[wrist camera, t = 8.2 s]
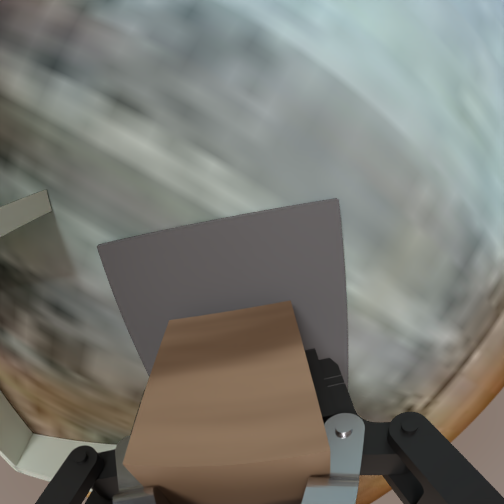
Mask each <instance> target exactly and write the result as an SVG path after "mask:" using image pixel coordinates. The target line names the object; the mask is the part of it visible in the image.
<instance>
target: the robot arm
mask: <svg viewBox="0 0 504 504" xmlns="http://www.w3.org/2000/svg"><path fill="white" fill-rule="evenodd" d="M305 354H306V358H307V362H308V365H309V369H310V373H311V377H312V380H313V384H314V388H315V392H316V396H317V399H318V403H319V407H320V411H321V415H322V419H323V423H324V427H325V431H326V434H327V438H328V442H329V446H330V474H327V475H320V476H311V477H309V479H308V482H307V485H306V489H305V493H304V496H303V500H302V503H301V504H355V503H356V497H357V491H358V484H359V475H382V476H383V477H384V478H385V480H386V481H387V482H388V484H389V485H390V486H391V488H392V489H393V490H394V492H395V493H396V494H397V496H398V497H399V498H400V500H401V501H402V502H403V503H404V504H504V498H503V497H502V496H501V495H500V494H499V493H498V491H496V490H495V488H494V487H493V486H492V485H491V484H490V483H489V482H488V481H487V480H486V479H485V478H484V477H483V476H482V475H481V474H480V473H479V472H478V471H477V470H476V469H475V468H474V467H473V466H472V465H471V464H470V463H469V462H468V461H467V459H466V458H464V456H463V455H462V454H461V453H459V451H458V450H457V449H456V448H455V447H454V446H453V445H452V444H451V443H450V442H449V441H448V440H447V439H446V438H445V437H444V436H443V435H442V434H441V433H440V432H439V431H438V430H437V429H436V428H435V427H434V426H433V425H432V424H431V423H430V422H429V421H428V420H427V419H426V418H425V417H424V416H423V415H421V414H419V413H416V412H405V413H401V414H399V415H397V416H396V417H395V418H394V419H393V420H392V421H391V422H384V423H374V422H369V421H366V420H364V419H362V418H361V417H359V416H358V415H357V413H356V411H355V409H354V406H353V404H352V401H351V398H350V395H349V393H348V390H347V387H346V385H345V383H344V379H343V377H342V374H341V371H340V369H339V366H338V364H336V363H335V362H334V361H333V360H332V359H331V358H326V359H321V360H319V359H318V356H317V353H316V350H315V348H313V349H308V350H305ZM144 392H145V390H144ZM143 395H144V393H143ZM142 398H143V396H142ZM141 400H142V399H141ZM140 404H141V402H140ZM139 408H140V405H139ZM138 411H139V409H138ZM137 414H138V412H137ZM136 417H137V415H136ZM135 420H136V418H135ZM134 423H135V421H134ZM133 427H134V425H133ZM132 430H133V428H132ZM131 433H132V431H131ZM130 437H131V434H130V436H127V437H125V438H123V439H122V440H121V441H120V442H119V443H118V444H117V446H116V449H113V450H109V451H104V452H99V453H97V452H96V450H95V449H94V448H93V447H91V446H87V445H83V446H79V447H77V448H75V449H74V450H72V451H71V453H70V454H69V455H68V457H67V458H66V460H65V461H64V463H63V464H62V465H61V467H60V468H59V470H58V471H57V473H56V474H55V475H54V477H53V478H52V480H51V481H50V483H49V484H48V486H47V487H46V489H45V490H44V492H43V493H42V494H41V496H40V497H39V499H38V500H37V502H36V503H35V504H82V502H83V500H84V499H85V497H86V496H87V494H88V492H89V491H90V489H93V491H92V492H91V494H90V496H89V497H88V499H87V501H86V502H85V504H172V503H171V502H170V501H169V500H168V499H167V498H166V496H165V495H164V494H163V493H162V492H161V491H160V490H159V489H158V487H157V486H152V487H143V486H142V485H141V483H140V482H139V481H138V480H137V479H136V478H135V477H134V476H133V475H132V474H131V473H130V472H129V471H128V470H127V469H126V467H125V466H124V465H123V461H124V457H125V454H126V450H127V447H128V443H129V440H130Z"/></svg>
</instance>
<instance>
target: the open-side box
mask: <svg viewBox="0 0 504 504" xmlns="http://www.w3.org/2000/svg"><path fill="white" fill-rule="evenodd" d="M51 211H52V209H51V206H50V202H49V198H48V194H47V190H44V191H41V192H38V193H35V194H33V195H30V196H27V197H24V198H22V199H19V200H17V201H14V202H12V203H9V204H7V205H4V206H2V207H0V237H2V236H4V235H5V234H7V233H9V232H11V231H13V230H15V229H17V228H19V227H20V226H22V225H24V224H26V223H28V222H30V221H32V220H34V219H36V218H38V217H40V216H42V215H44V214H46V213H48V212H51ZM83 445H87V446H91V447H93V448H94V449H95V450H96V452H97V453H99V452H104V451H109V450H113V449H116V446H117V445H114V444H102V443H92V442H83V441H75V440H68V439H62V438H55V437H50V436H44V435H39V434H34V433H32V431H31V430H30V429H29V428H28V427H27V425H26V424H25V423H24V422H23V420H22V419H21V418H20V417H19V415H18V414H17V413H16V411H15V410H14V409H13V407H12V406H11V405H10V403H9V402H8V400H7V399H6V398H5V396H4V395H3V393H2V392H1V391H0V455H1V457H2V458H3V459H4V460H5V461H6V462H7V463H8V464H10V466H11V467H12V468H13V469H15V470H16V471H17V472H20V473H23V474H26V475H29V476H32V477H35V478H38V479H42V480H45V481H48V482H50V481H51V480H52V478H53V477H54V475H55V474H56V473H57V471H58V470H59V468H60V467H61V465H62V464H63V463H64V461H65V460H66V458H67V457H68V455H69V454H70V453H71V451H72V450H74V449H75V448H77V447H79V446H83ZM92 491H93V489H90V492H92Z"/></svg>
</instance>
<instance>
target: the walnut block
mask: <svg viewBox="0 0 504 504" xmlns="http://www.w3.org/2000/svg"><path fill="white" fill-rule="evenodd" d="M123 465H124V466H125V467H126V469H127V470H128V471H129V472H130V473H131V474H132V475H133V476H134V477H135V478H136V479H137V480H138V481H139V482H140V483H141V485H142V486H143V487H152V486H157V487H158V489H159V490H160V491H161V492H162V493H163V494H164V495H165V496H166V498H167V499H168V500H169V501H170V502H171V503H172V504H301V503H302V500H303V496H304V493H305V489H306V485H307V482H308V479H309V477H311V476H320V475H327V474H330V446H329V442H328V438H327V434H326V431H325V427H324V423H323V419H322V415H321V411H320V407H319V403H318V399H317V396H316V392H315V388H314V384H313V380H312V377H311V373H310V369H309V365H308V362H307V358H306V354H305V350H304V347H303V343H302V339H301V336H300V332H299V328H298V325H297V321H296V318H295V314H294V310H293V307H292V303H291V300H290V301H284V302H279V303H274V304H268V305H262V306H257V307H251V308H245V309H239V310H233V311H227V312H221V313H215V314H208V315H202V316H195V317H188V318H181V319H174V320H169V322H168V325H167V328H166V331H165V333H164V336H163V339H162V342H161V345H160V348H159V350H158V353H157V356H156V359H155V362H154V365H153V368H152V371H151V374H150V377H149V380H148V383H147V386H146V389H145V392H144V395H143V398H142V401H141V404H140V408H139V411H138V414H137V417H136V420H135V423H134V427H133V430H132V433H131V437H130V440H129V443H128V447H127V450H126V454H125V457H124V461H123Z"/></svg>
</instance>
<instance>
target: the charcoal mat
mask: <svg viewBox="0 0 504 504" xmlns="http://www.w3.org/2000/svg"><path fill="white" fill-rule="evenodd" d="M97 249H98V252H99V255H100V258H101V261H102V264H103V267H104V270H105V272H106V275H107V278H108V281H109V283H110V286H111V289H112V292H113V294H114V297H115V299H116V302H117V304H118V307H119V310H120V312H121V314H122V317H123V319H124V322H125V324H126V327H127V329H128V331H129V334H130V336H131V338H132V340H133V343H134V345H135V347H136V349H137V352H138V354H139V356H140V358H141V360H142V362H143V364H144V367H145V369H146V371H147V373H148V375H149V377H150V374H151V371H152V368H153V365H154V362H155V359H156V356H157V353H158V350H159V348H160V345H161V342H162V339H163V336H164V333H165V331H166V328H167V325H168V322H169V320H174V319H181V318H188V317H195V316H202V315H208V314H215V313H221V312H227V311H233V310H239V309H245V308H251V307H257V306H262V305H268V304H274V303H279V302H284V301H290V300H291V303H292V307H293V310H294V314H295V318H296V321H297V325H298V328H299V332H300V336H301V339H302V343H303V347H304V350H308V349H313V348H315V350H316V353H317V356H318V359H319V360H321V359H326V358H331V359H332V360H333V361H334V362H335V363H336V364H338V366H339V369H340V371H341V374H342V377H343V379H344V383H345V385H346V387H347V390H348V331H347V301H346V282H345V266H344V252H343V240H342V229H341V218H340V209H339V200H338V199H337V198H335V199H329V200H322V201H316V202H310V203H304V204H298V205H292V206H287V207H281V208H275V209H270V210H264V211H258V212H253V213H247V214H242V215H237V216H231V217H226V218H221V219H216V220H211V221H206V222H201V223H196V224H191V225H186V226H181V227H176V228H171V229H166V230H162V231H157V232H152V233H147V234H143V235H138V236H134V237H129V238H125V239H120V240H116V241H111V242H107V243H103V244H99V245H98V246H97Z"/></svg>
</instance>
